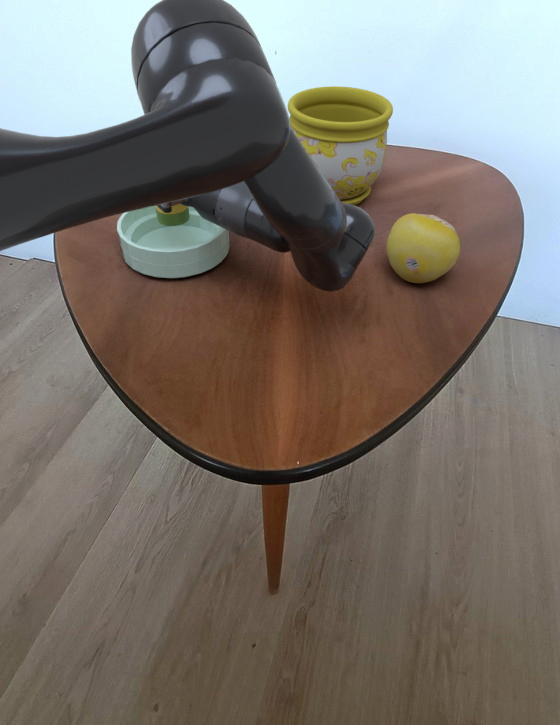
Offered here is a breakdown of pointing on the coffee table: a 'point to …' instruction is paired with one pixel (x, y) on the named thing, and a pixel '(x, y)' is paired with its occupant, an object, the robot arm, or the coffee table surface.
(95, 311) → the coffee table surface
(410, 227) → the fruit
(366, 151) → the flowerpot
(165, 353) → the coffee table surface
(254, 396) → the coffee table surface
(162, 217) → the corn cob
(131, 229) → the basin
